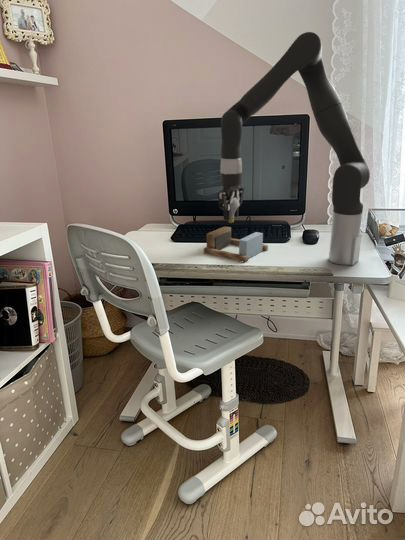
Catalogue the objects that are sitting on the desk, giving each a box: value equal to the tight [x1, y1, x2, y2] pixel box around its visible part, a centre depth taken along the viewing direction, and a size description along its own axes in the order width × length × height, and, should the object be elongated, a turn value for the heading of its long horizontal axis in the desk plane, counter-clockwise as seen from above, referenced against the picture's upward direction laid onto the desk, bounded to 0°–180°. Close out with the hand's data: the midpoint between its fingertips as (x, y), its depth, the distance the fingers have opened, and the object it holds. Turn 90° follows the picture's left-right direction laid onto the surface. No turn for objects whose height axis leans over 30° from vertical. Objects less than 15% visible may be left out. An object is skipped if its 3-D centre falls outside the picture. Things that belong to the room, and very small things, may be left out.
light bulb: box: [226, 197, 239, 224], centre depth 155 cm, size 6×6×10 cm
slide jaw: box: [238, 231, 264, 260], centre depth 155 cm, size 3×12×7 cm, turn 144°
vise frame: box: [203, 226, 269, 263], centre depth 158 cm, size 18×16×7 cm
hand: (231, 218), depth 156 cm, fingers closed on light bulb, 5 cm apart
